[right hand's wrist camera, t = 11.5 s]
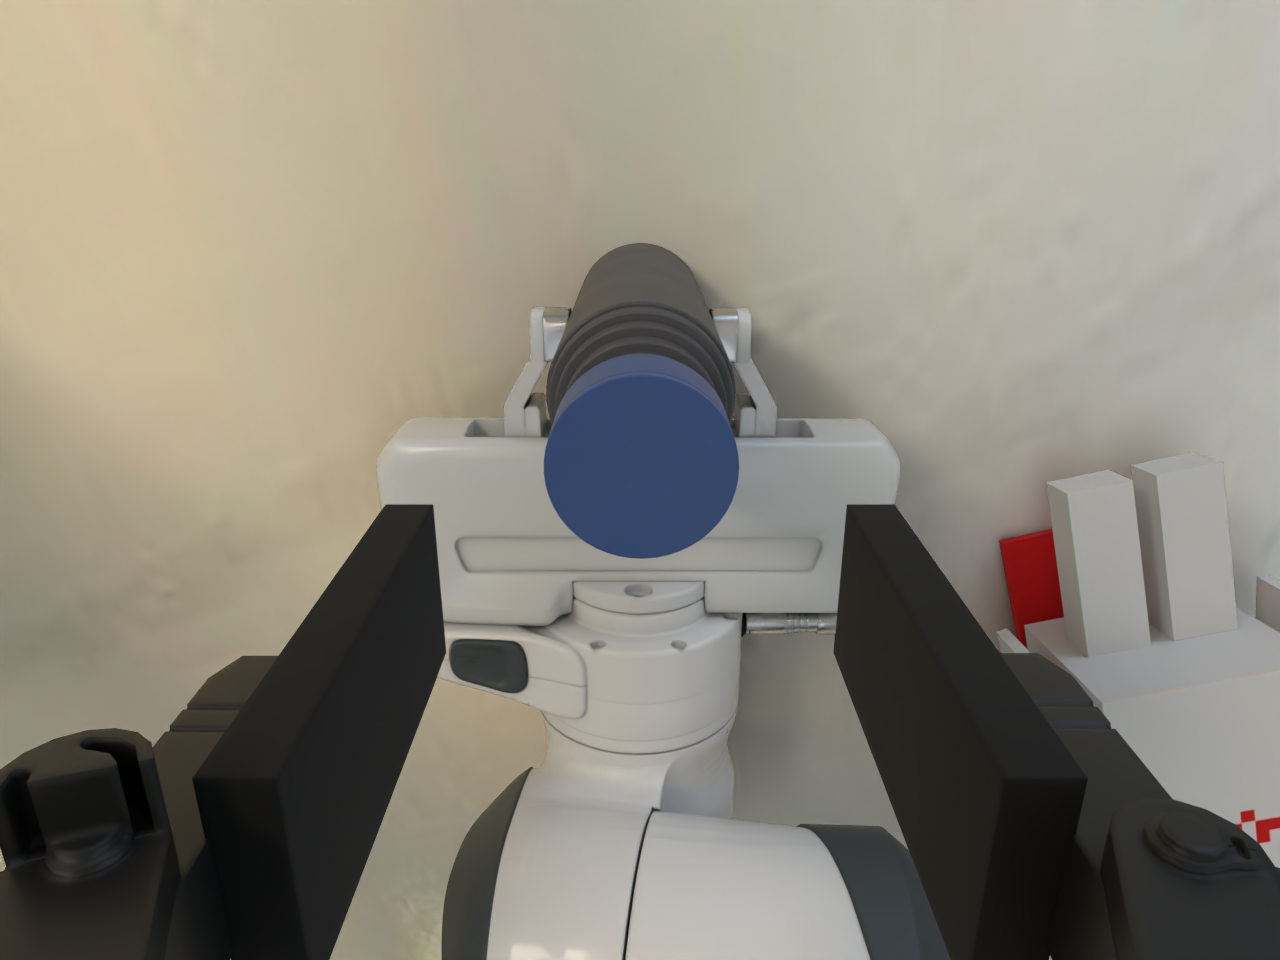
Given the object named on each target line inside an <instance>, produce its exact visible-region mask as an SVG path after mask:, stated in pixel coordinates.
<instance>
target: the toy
mask: <svg viewBox="0 0 1280 960" xmlns="http://www.w3.org/2000/svg"><path fill="white" fill-rule="evenodd" d="M1131 473H1132V480H1130V479H1128V478H1126V477H1124V476H1122V475H1119V474H1117V473H1115V472H1113V471H1110V470H1103V471H1099V472H1094V473H1089V474H1084V475H1079V476H1074V477H1069V478H1065V479H1060V480H1055V481H1050V482H1046V485H1047V492H1048V500H1049V507H1050V515H1051V522H1052V529H1050V530H1045V531H1041V532H1036V533H1032V534H1027V535H1023V536H1018V537H1014V538H1010V539H1005V540H1001V541H999V542H1000V547H1001V553H1002V558H1003V564H1004V569H1005V575H1006V580H1007V586H1008V591H1009V597H1010V602H1011V608H1012V614H1013V619H1014V625H1015V630H1016V636H1017V638H1016V637H1015V636H1014V635H1013V634H1012V633H1011V632H1010V631H1009V630H1008V629H1007V628H1006V629H1003V630H999V631H996V635H997V638H998V642H999V646H1000V649H1001V653H1038V654H1040V655H1041V656H1043V657H1045V658H1046V659H1048V660H1049V661H1051V662H1052V663H1054V664H1055V665H1057V666H1058V667H1060V668H1061V669H1063V670H1064V671H1066V672H1067V673H1069V674H1071V675H1072V676H1073V677H1074V679H1075V680H1076V681H1077V682H1078V683H1079V685H1080V686H1081V687H1082V688H1083V690H1084V691H1085V692H1086V693H1087V694H1088V696H1089V697H1090V698H1091V699H1092V701H1093V706H1094V707H1098V708H1099V709H1100V710H1101V712H1102V713H1103V714H1104V715H1105V717H1106V718H1107V719H1108V720H1109V722H1110V723H1111V728H1112V729H1116V730H1117V731H1118V733H1119V734H1120V735H1121V736H1122V737H1123V739H1124V740H1125V741H1126V742H1127V744H1128V745H1129V746H1130V747H1131V749H1132V750H1133V751H1134V752H1135V753H1136V755H1137V756H1138V757H1139V758H1140V760H1141V761H1142V762H1143V763H1144V765H1145V766H1146V767H1147V768H1148V769H1149V771H1150V772H1151V773H1152V774H1153V776H1154V777H1155V778H1156V779H1157V780H1158V782H1159V783H1160V784H1161V785H1162V787H1163V788H1164V789H1165V790H1166V792H1167V793H1168V794H1169V795H1170V796H1171V798H1172V799H1173V800H1177V801H1181V802H1184V803H1187V804H1190V805H1194V806H1197V807H1200V808H1204V809H1207V810H1209V811H1210V812H1212V813H1214V814H1216V815H1218V816H1220V817H1222V818H1224V819H1226V820H1228V821H1230V822H1232V823H1234V824H1236V825H1237V826H1238V827H1239V828H1240V829H1242V830H1243V831H1244V832H1245V833H1247V834H1248V835H1249V836H1250V837H1252V838H1253V839H1254V840H1255V841H1257V842H1258V843H1259V844H1260V845H1261V847H1262V848H1263V850H1264V851H1265V853H1266V854H1267V855H1268V857H1269V858H1270V860H1271V861H1272V863H1273V864H1274V866H1275V867H1278V868H1280V581H1279V580H1277V579H1275V578H1273V577H1272V576H1270V575H1266V576H1257V586H1256V618H1254V617H1252V616H1250V615H1249V614H1247V613H1245V612H1244V611H1242V610H1240V609H1239V608H1237V607H1236V600H1235V589H1234V577H1233V566H1232V555H1231V543H1230V532H1229V521H1228V510H1227V498H1226V487H1225V476H1224V465H1223V462H1222V461H1219V460H1216V459H1213V458H1210V457H1207V456H1204V455H1201V454H1198V453H1195V452H1191V453H1186V454H1181V455H1176V456H1171V457H1167V458H1162V459H1157V460H1152V461H1147V462H1142V463H1137V464H1133V465H1131Z"/></svg>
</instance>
